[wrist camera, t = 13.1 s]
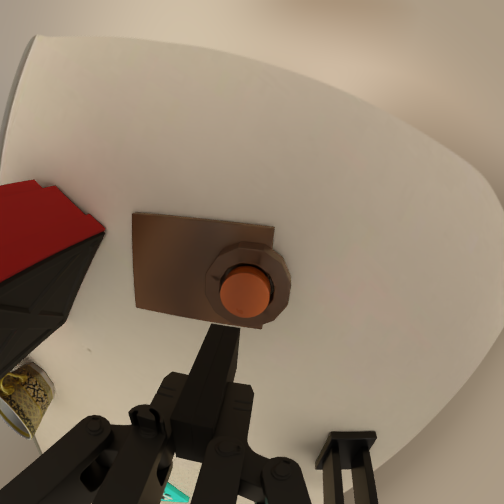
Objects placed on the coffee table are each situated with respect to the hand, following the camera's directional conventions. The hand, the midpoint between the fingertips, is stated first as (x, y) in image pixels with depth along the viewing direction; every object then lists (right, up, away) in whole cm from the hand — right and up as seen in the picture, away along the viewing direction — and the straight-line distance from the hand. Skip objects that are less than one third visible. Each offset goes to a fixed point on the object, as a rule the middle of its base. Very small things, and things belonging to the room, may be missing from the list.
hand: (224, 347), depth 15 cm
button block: (-3, +3, +10) cm, 11 cm away
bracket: (+14, -21, +16) cm, 29 cm away
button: (+1, +2, +8) cm, 8 cm away
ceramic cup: (-32, -14, +19) cm, 40 cm away
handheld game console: (-20, -41, +26) cm, 53 cm away
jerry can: (-20, +5, +12) cm, 24 cm away
